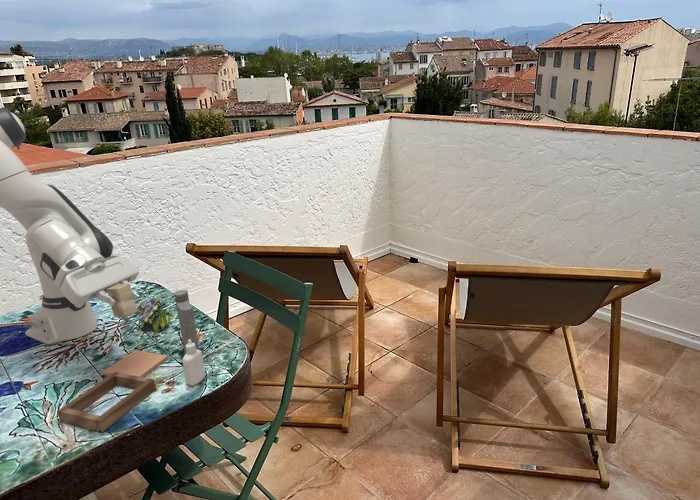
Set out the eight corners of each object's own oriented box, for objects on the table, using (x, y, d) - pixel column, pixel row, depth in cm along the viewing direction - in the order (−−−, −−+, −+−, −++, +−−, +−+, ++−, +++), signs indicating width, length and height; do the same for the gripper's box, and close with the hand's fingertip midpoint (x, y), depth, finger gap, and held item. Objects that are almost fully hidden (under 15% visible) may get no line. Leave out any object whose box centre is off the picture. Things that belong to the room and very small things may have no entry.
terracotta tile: (103, 374, 126) (102, 371, 126) (135, 353, 137) (135, 350, 136) (137, 381, 122) (136, 378, 122) (168, 358, 133) (167, 355, 132)
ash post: (114, 317, 121) (106, 289, 119) (126, 311, 125) (118, 283, 123) (125, 317, 120) (117, 289, 118) (137, 311, 123) (129, 283, 121)
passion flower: (147, 341, 155) (133, 310, 156) (179, 327, 159) (165, 296, 161) (145, 336, 145) (130, 302, 146) (178, 321, 149) (163, 289, 151)
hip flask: (202, 365, 129) (191, 300, 122) (187, 369, 127) (175, 303, 121) (195, 341, 142) (185, 281, 136) (181, 344, 141) (171, 284, 135)
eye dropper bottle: (182, 380, 121) (175, 340, 118) (203, 372, 125) (196, 333, 121) (188, 387, 118) (181, 346, 115) (209, 379, 122) (203, 339, 118)
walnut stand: (60, 421, 107) (57, 410, 106) (117, 381, 122) (114, 371, 121) (102, 432, 103) (99, 421, 102) (156, 389, 118) (154, 379, 117)
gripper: (113, 261, 132) (147, 293, 131) (48, 286, 114) (87, 323, 113) (121, 246, 130) (156, 278, 129) (55, 269, 111) (95, 306, 110)
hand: (123, 299), depth 121 cm, fingers closed on ash post, 4 cm apart
